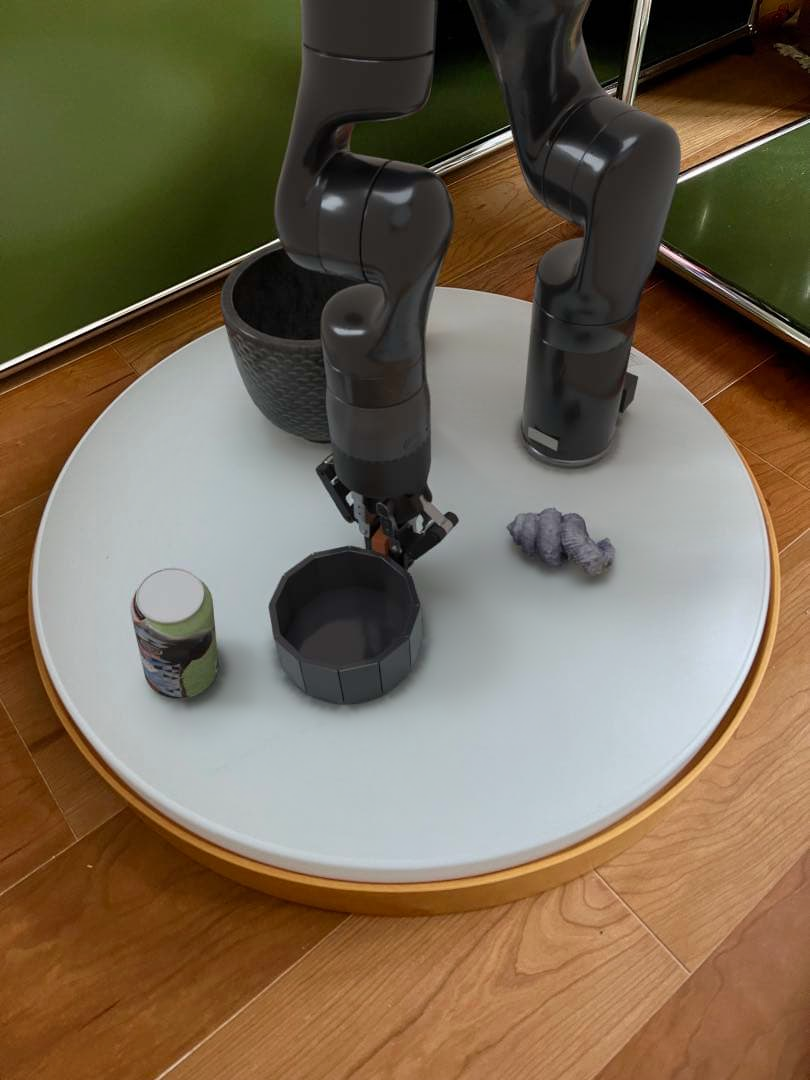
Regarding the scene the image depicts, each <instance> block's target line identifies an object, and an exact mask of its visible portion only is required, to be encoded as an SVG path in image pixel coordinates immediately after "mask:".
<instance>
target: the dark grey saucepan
mask: <svg viewBox="0 0 810 1080" xmlns="http://www.w3.org/2000/svg"><path fill="white" fill-rule="evenodd" d="M372 547H373V550H368V549H365V547H364V548H363V547H360V546H354V545H344V546H340V547H334V548H329V549H324V550H320V551H315V552H313V553H310V554H309V555H308V556H306V557H305V558H303V559H302V560H301V561H299V562H298V563H296V564H295V565H294V566H292V567H290V568H289V569H288V570H287V571H285V572H284V573H283V575H281V577H280V580H279V582H278V584H277V586H276V588H275V590H274V592H273V594H272V596H271V598H270V600H269V602H268V613H269V618H270V624H271V631H272V636H273V640H274V644H275V648H276V652H277V654H278V659H279V662H280V665H281V669H282V670H283V672H284V673H285V674H286V675H287V676H288V677H289V679H290V680H291V682H292V683H293V684H294V685H295V686H296V687H298V688H299V689H300V690H301V692H304V693H305V694H307V695H309V696H310V697H312V698H315V699H316V700H319V701H323V702H325V703H330V704H336V705H356V704H362V703H365V702H369V701H373V700H375V699H378V698H380V697H383V696H384V695H386V694H388V693H389V692H391V691H392V690H394V689H395V688H397V687H398V686H399V685H400V684H401V683H402V682H403V681H404V680H405V679H406V678H407V677H408V675H409V674H410V673H411V671H412V670H413V668H414V667H415V664H416V662H417V659H418V655H419V652H420V647H421V644H422V641H423V628H422V607H421V601H420V598H419V594H418V591H417V588H416V585H415V581H414V578H413V576H412V574H411V573H410V572H409V571H408V570H407V571H406V570H405V569H404V568H403V567H401V566H400V565H399V564H398V563H397V562H395V561H394V560H393V559H392V558H391V557H389V555H388V549H389V545H388V538H387V536H386V535H384V534H383V533H382V526H380V527H379V529H378V530H377V532H376V533H375V535H374V536H373V538H372Z"/></svg>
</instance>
